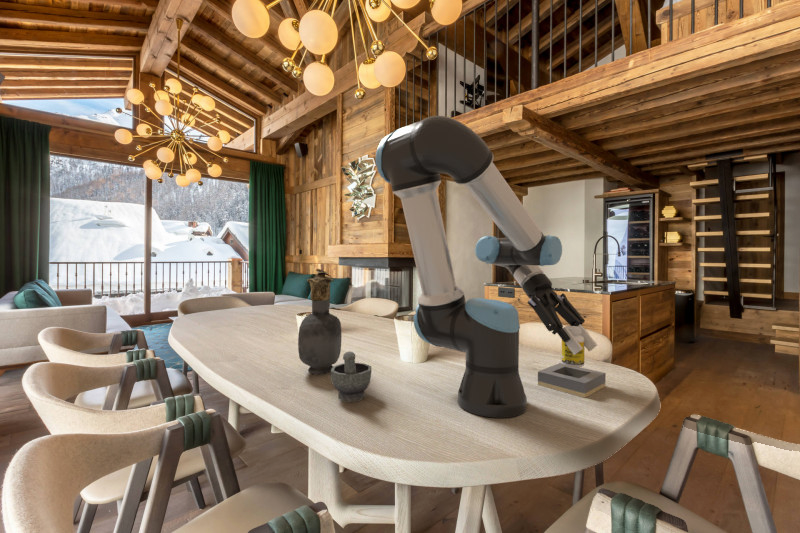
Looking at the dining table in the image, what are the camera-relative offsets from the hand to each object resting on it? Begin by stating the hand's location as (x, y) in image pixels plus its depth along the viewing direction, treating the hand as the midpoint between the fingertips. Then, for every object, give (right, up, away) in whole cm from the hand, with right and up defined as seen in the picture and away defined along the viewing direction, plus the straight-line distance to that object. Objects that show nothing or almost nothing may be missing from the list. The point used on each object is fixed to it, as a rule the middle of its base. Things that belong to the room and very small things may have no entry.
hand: (585, 349), depth 94 cm
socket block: (-2, -10, +3) cm, 11 cm away
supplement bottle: (-2, -5, +3) cm, 6 cm away
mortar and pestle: (-58, -11, -5) cm, 59 cm away
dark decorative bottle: (-70, -10, +18) cm, 73 cm away
